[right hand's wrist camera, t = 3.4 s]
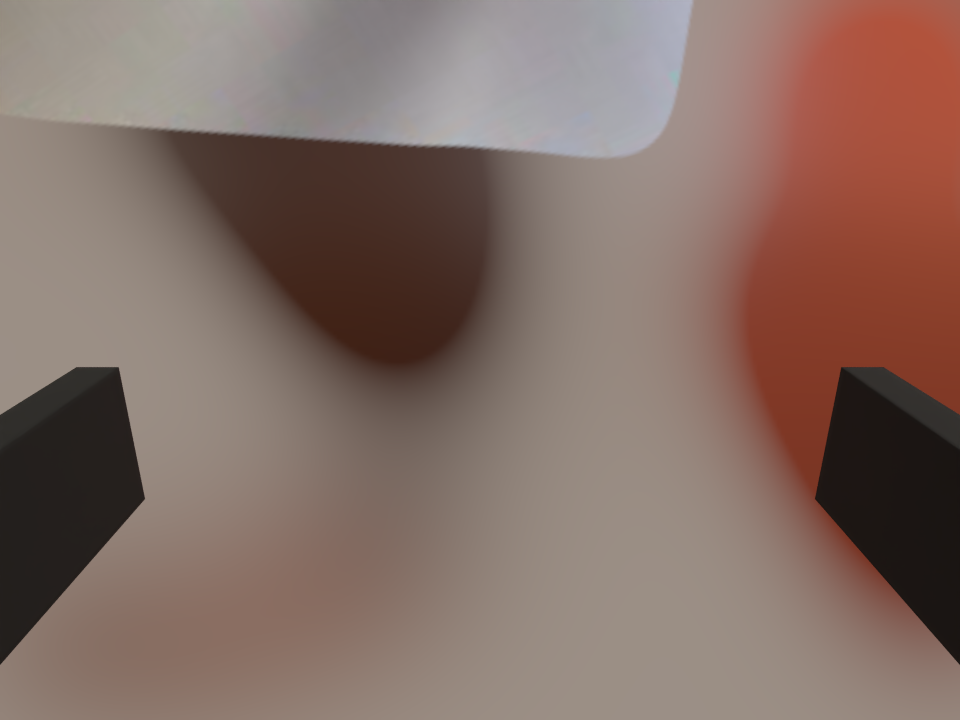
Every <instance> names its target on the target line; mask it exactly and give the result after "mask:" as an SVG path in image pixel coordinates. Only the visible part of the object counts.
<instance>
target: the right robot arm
mask: <svg viewBox="0 0 960 720" xmlns="http://www.w3.org/2000/svg"><path fill="white" fill-rule="evenodd" d="M144 499H145V497H144V492H143V487H142V482H141V477H140V472H139V467H138V462H137V457H136V452H135V447H134V442H133V437H132V432H131V427H130V422H129V417H128V412H127V407H126V402H125V397H124V392H123V387H122V382H121V377H120V372H119V368H118V367H76V368H75V369H73V370H71V371H70V372H68V373H67V374H65V375H63V376H62V377H60V378H59V379H57V380H55V381H54V382H52V383H51V384H49V385H48V386H46V387H44V388H43V389H41V390H39V391H38V392H36V393H35V394H33V395H31V396H30V397H28V398H27V399H25V400H23V401H22V402H20V403H19V404H17V405H15V406H14V407H12V408H11V409H9V410H7V411H6V412H4V413H3V414H1V415H0V664H1V663H2V662H3V661H4V660H5V659H6V657H7V656H8V655H9V654H10V653H11V652H12V651H13V649H14V648H15V647H16V646H17V645H18V644H19V643H20V641H21V640H22V639H23V638H24V637H25V636H26V635H27V633H28V632H29V631H30V630H31V629H32V628H33V627H34V625H35V624H36V623H37V622H38V621H39V620H40V619H41V617H42V616H43V615H44V614H45V613H46V612H47V611H48V609H49V608H50V607H51V606H52V605H53V604H54V603H55V601H56V600H57V599H58V598H59V597H60V596H61V594H62V593H63V592H64V591H65V590H66V589H67V588H68V586H69V585H70V584H71V583H72V582H73V581H74V580H75V578H76V577H77V576H78V575H79V574H80V573H81V572H82V570H83V569H84V568H85V567H86V566H87V565H88V564H89V562H90V561H91V560H92V559H93V558H94V557H95V556H96V554H97V553H98V552H99V551H100V550H101V549H102V547H103V546H104V545H105V544H106V543H107V542H108V541H109V540H110V538H111V537H112V536H113V535H114V534H115V533H116V531H117V530H118V529H119V528H120V527H121V526H122V525H123V523H124V522H125V521H126V520H127V519H128V518H129V517H130V515H131V514H132V513H133V512H134V511H135V510H136V509H137V507H138V506H139V505H140V504H141V503H142V502H143V501H144ZM815 499H816V501H817V502H818V503H819V504H820V505H821V506H822V507H823V509H824V510H825V511H826V512H827V513H828V514H829V515H830V516H831V518H832V519H833V520H834V521H835V522H836V523H837V525H838V526H839V527H840V528H841V529H842V530H843V531H844V533H845V534H846V535H847V536H848V537H849V538H850V539H851V541H852V542H853V543H854V544H855V545H856V546H857V548H858V549H859V550H860V551H861V552H862V553H863V554H864V556H865V557H866V558H867V559H868V560H869V561H870V562H871V564H872V565H873V566H874V567H875V568H876V569H877V570H878V572H879V573H880V574H881V575H882V576H883V577H884V578H885V580H886V581H887V582H888V583H889V584H890V585H891V586H892V588H893V589H894V590H895V591H896V592H897V593H898V594H899V596H900V597H901V598H902V599H903V600H904V601H905V603H906V604H907V605H908V606H909V607H910V608H911V609H912V611H913V612H914V613H915V614H916V615H917V616H918V617H919V619H920V620H921V621H922V622H923V623H924V624H925V625H926V626H927V628H928V629H929V630H930V631H931V632H932V633H933V635H934V636H935V637H936V638H937V639H938V640H939V641H940V643H941V644H942V645H943V646H944V647H945V648H946V649H947V651H948V652H949V653H950V654H951V655H952V656H953V657H954V659H955V660H956V661H957V662H958V663H959V664H960V415H959V414H957V413H956V412H954V411H953V410H951V409H949V408H948V407H946V406H945V405H943V404H941V403H940V402H938V401H937V400H935V399H933V398H932V397H930V396H929V395H927V394H925V393H924V392H922V391H921V390H919V389H917V388H916V387H914V386H912V385H911V384H909V383H908V382H906V381H905V380H903V379H901V378H900V377H898V376H897V375H895V374H893V373H892V372H890V371H889V370H887V369H885V368H884V367H842V368H841V372H840V377H839V382H838V387H837V392H836V397H835V402H834V407H833V412H832V417H831V422H830V427H829V432H828V437H827V442H826V447H825V452H824V457H823V462H822V467H821V472H820V477H819V482H818V487H817V492H816V497H815Z"/></svg>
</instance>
